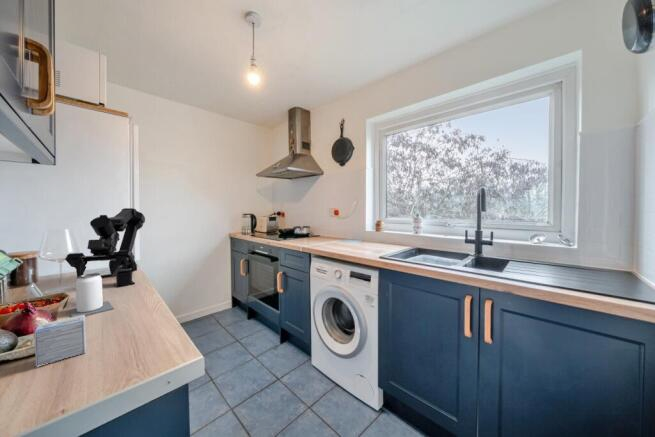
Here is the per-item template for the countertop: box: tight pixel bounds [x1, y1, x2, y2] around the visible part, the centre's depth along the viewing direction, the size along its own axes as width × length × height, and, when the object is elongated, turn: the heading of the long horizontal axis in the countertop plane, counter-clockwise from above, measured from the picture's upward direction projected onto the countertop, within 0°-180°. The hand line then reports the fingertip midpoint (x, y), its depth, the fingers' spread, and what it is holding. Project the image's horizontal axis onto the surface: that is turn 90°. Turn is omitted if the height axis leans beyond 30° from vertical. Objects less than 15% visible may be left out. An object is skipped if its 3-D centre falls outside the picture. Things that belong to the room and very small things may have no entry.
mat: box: [68, 301, 115, 318], centre depth 83 cm, size 10×10×1 cm
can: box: [75, 272, 104, 313], centre depth 82 cm, size 6×6×12 cm
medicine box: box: [33, 315, 87, 367], centre depth 57 cm, size 8×4×9 cm, turn 134°
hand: (95, 278), depth 85 cm, fingers open, 9 cm apart
